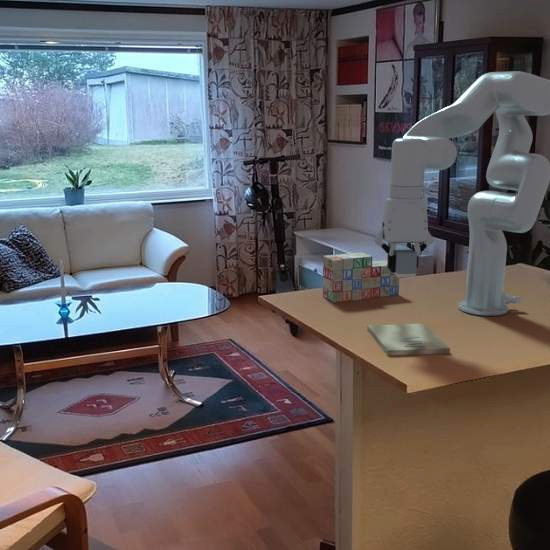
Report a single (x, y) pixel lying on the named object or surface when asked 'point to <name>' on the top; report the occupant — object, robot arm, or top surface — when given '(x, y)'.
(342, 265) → the stack of blocks
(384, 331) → the board
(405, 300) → the top surface
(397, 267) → the block
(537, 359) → the top surface
